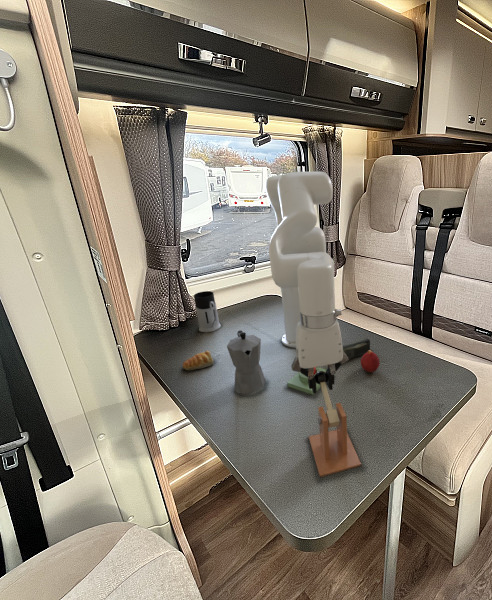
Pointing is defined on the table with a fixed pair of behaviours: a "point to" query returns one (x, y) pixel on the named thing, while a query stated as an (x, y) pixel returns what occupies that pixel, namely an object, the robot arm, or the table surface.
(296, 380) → the control block
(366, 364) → the onion
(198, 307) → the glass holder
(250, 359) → the coffeepot
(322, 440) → the switch bracket
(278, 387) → the table surface
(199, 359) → the pastry
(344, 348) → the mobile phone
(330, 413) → the switch lever
